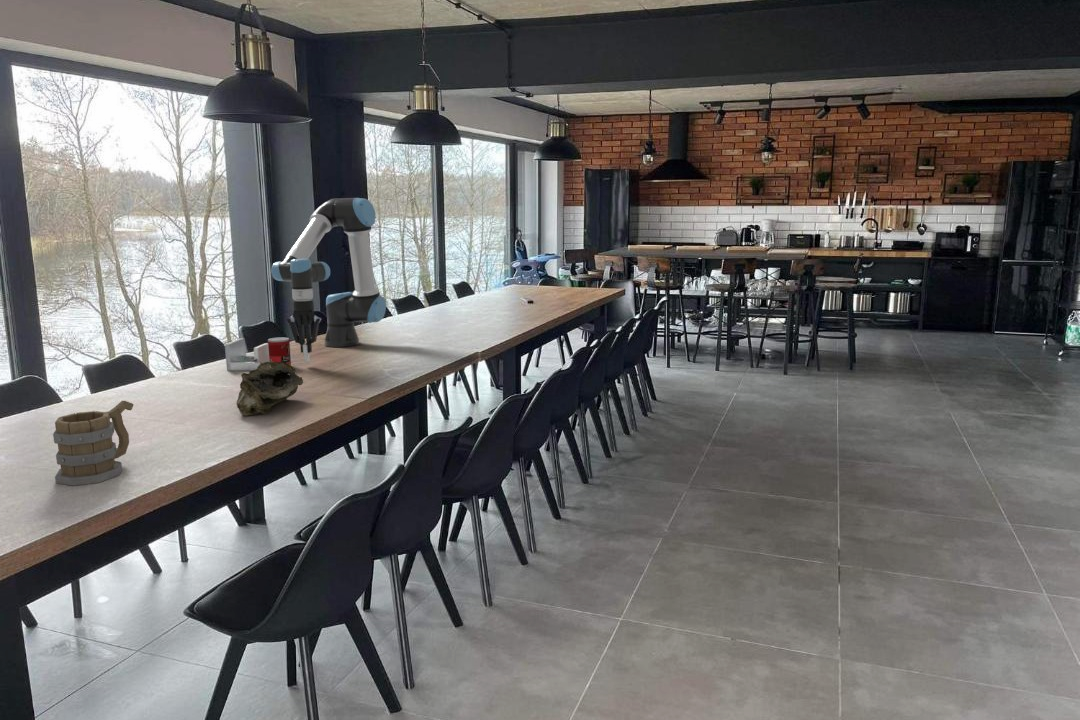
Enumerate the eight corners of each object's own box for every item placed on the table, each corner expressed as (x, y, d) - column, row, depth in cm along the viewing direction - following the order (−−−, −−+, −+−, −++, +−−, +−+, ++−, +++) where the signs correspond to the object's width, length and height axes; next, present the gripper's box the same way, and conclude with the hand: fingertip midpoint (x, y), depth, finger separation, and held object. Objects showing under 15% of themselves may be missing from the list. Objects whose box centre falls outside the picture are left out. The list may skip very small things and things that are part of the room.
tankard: (84, 488, 168) (76, 422, 165) (44, 481, 172) (35, 416, 169) (159, 461, 186) (153, 400, 183) (121, 455, 190) (114, 396, 188)
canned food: (285, 369, 292) (283, 340, 290) (266, 368, 294) (263, 340, 292) (294, 365, 300) (293, 337, 298) (275, 364, 301) (273, 337, 299)
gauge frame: (242, 363, 304) (240, 338, 303) (274, 363, 304) (273, 338, 302) (226, 370, 291) (224, 344, 289) (260, 370, 290) (258, 344, 288)
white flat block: (266, 363, 302) (264, 343, 301) (270, 363, 302) (268, 343, 301) (252, 370, 289) (250, 349, 288) (256, 370, 289) (254, 349, 288)
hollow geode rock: (293, 409, 251) (262, 376, 252) (317, 384, 248) (286, 350, 248) (242, 431, 224) (208, 393, 225) (269, 403, 221) (234, 364, 221)
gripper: (282, 301, 288) (286, 362, 292) (316, 301, 287) (320, 362, 292) (289, 298, 295) (293, 358, 300) (323, 298, 295) (326, 359, 299)
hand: (307, 360), depth 296 cm, fingers closed
